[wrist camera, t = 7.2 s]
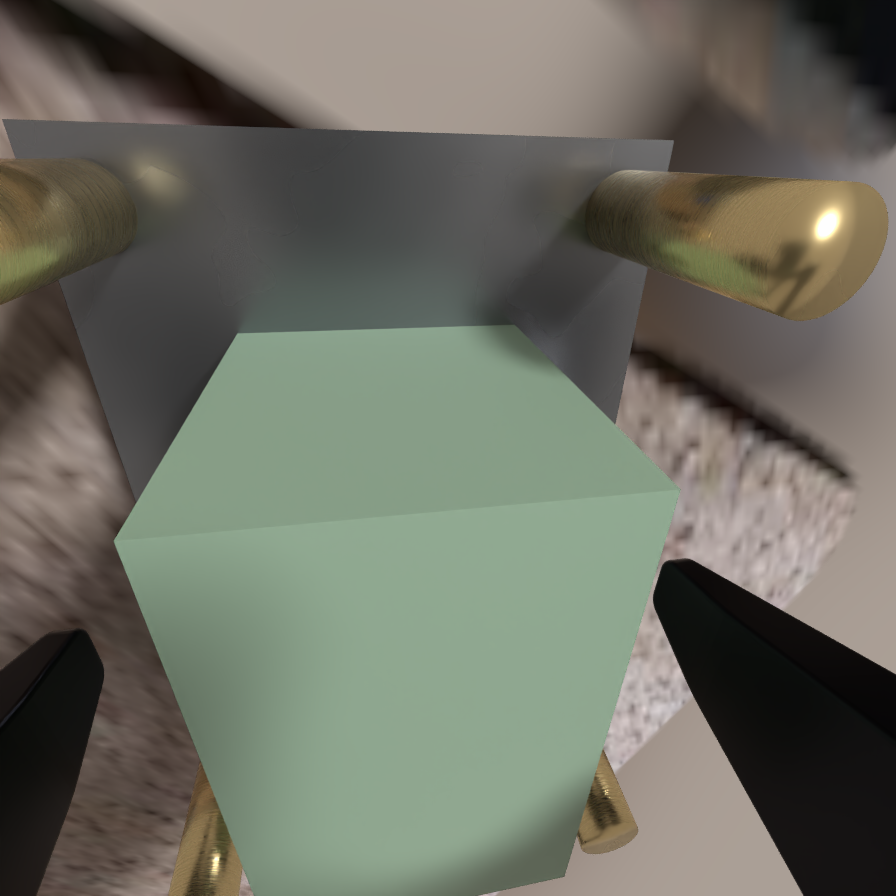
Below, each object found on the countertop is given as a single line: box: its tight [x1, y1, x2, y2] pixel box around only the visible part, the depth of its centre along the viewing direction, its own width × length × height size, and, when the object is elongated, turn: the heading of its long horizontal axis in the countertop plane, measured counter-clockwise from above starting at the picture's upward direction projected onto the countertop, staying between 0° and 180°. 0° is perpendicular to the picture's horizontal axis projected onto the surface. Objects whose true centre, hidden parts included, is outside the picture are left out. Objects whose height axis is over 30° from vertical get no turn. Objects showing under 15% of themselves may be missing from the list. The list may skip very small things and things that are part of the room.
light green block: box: [114, 325, 681, 896], centre depth 8 cm, size 8×4×5 cm, turn 179°
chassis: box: [0, 119, 888, 896], centre depth 9 cm, size 13×9×5 cm
